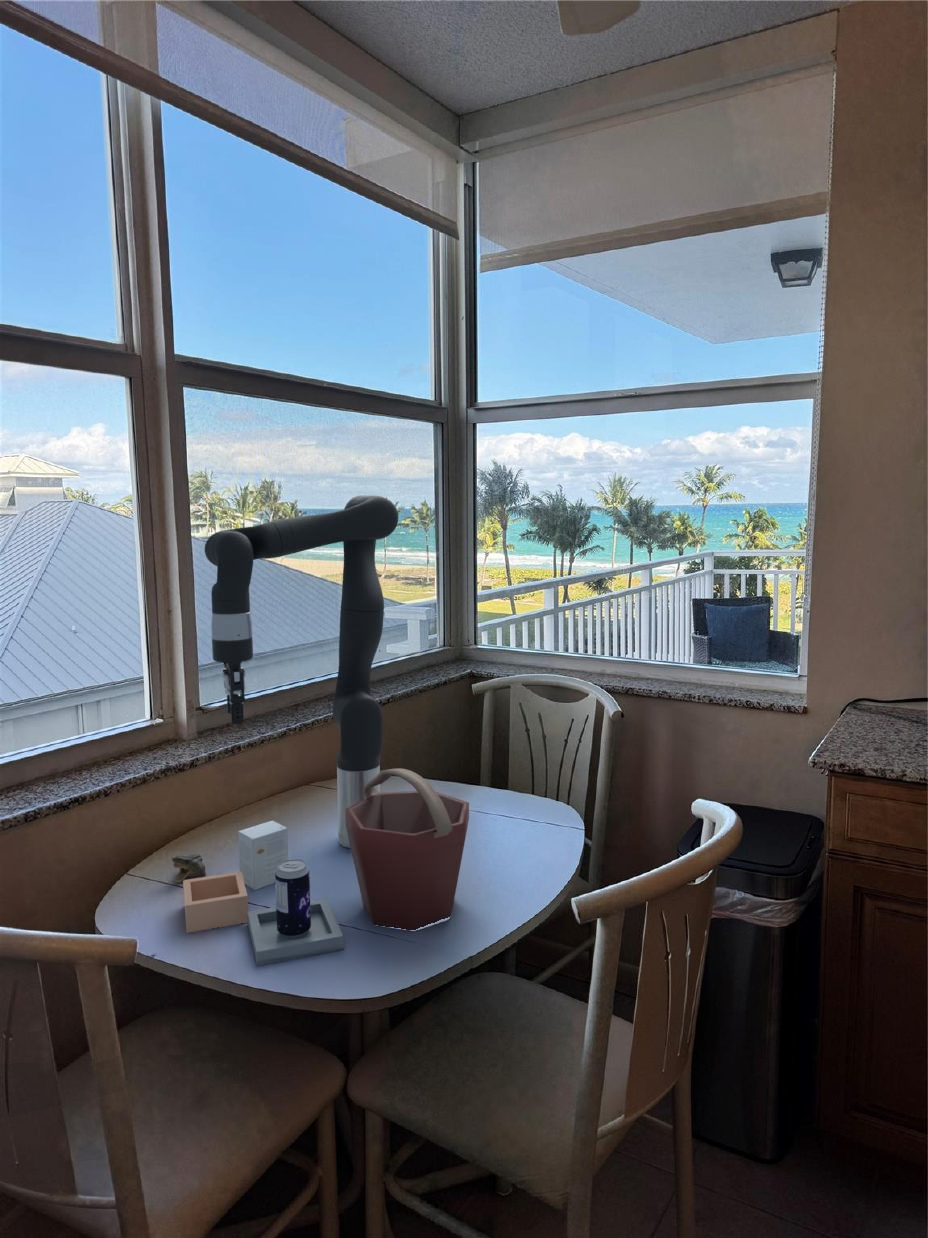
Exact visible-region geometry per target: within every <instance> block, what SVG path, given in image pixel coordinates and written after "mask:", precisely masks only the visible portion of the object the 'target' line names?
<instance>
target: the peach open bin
mask: <svg viewBox="0 0 928 1238" xmlns="http://www.w3.org/2000/svg"><path fill="white" fill-rule="evenodd" d="M182 884H183V887H182V889H183V902H184V903H183V905H184V908H183V909H184V917H185V918H184V920H185V931H186V932H185V933H186V934H190V933H196V932H201V931H207V930H212V928H214V929H218V928H217V927H219V928H224V927H229V926H235V925H242V924H241V923H243V924H248V916H247V912H249V902H248V900H249V899H248V898H249V897H248V896H249V895H248V892H247V888H246V885H245V884H244V879H243V875H242V871H241V872H240V871H235V872H231V873H230V872H227V873H224V874H217V875H209V876H201V877H196V878H190V879H185V880H183V881H182Z"/></svg>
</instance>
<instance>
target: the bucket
mask: <svg viewBox="0 0 928 1238" xmlns="http://www.w3.org/2000/svg"><path fill="white" fill-rule="evenodd" d="M392 776H395V777H398V778H401V779H402V780H405V781H406V782H407V783H408V784H410V785H412V786H413V788H414V789H415V790H406V791H405V790H402V791H384V792H382V791H381V792H380V793H378V792H377V791H376V789H375V787H374V786H376V785H379V784H380V785H382V784H384V783H385V782H386V781H388V780H390V778H391V777H392ZM363 793H364V796H365V798H366V799H365V800H363V801H361V802H359V803H357V804H355V805H353V806H351V807H349V808H347V809H345V817H346V829H347V833H348V838H349V842H350V847H351V848H350V850H351V855H352V859H353V860H352V861H353V864H354V869H355V873H356V878H357V882H358V887H359V893H360V897H361V900H362V905H363V908H364V910H365V912H366V911H367V912H366V914H367V915H368V917H369V919H370V920H372V921H371V922H372V924H374V925H378V926H377V927H380V926H385V927H384V928H386V927H394V928H401V929H406V930H416V929H418V928H420V927H424V926H426V925H428V924H431V923H435V922H437V921H439V920H441V919H445V918H448V917H450V916H451V917H452V912H453V907H454V903H455V898H456V890H457V886H458V882H459V875H460V870H461V865H462V859H463V854H464V848H465V843H466V838H467V837H466V836H467V832H468V827H469V826H468V825H469V822H470V821H469V820H470V802H468V801H465V800H462V799H460V798H457V797H452V796H450V795H447V794H443V793H441V792H437V791H436V790H435V789H434V787H433V786H432V785H431V784H430V782H429V781H428V780H426V779H425V778H423V777H422V776H421V775H419V774H418V773H416V772H414V771H412V770H410V769H406V768H402V767H400V768H390V769H383V770H380V773H379V774H378V775H377V776H376V777H375V778H373V779H372V780H371V781H369V782H368V783H367V784H366V785H365V786H364V787H363ZM374 925H373V926H374Z"/></svg>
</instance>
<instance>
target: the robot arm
mask: <svg viewBox="0 0 928 1238" xmlns="http://www.w3.org/2000/svg"><path fill="white" fill-rule="evenodd" d="M398 523H399V512H398V508H397V507H396V504H394V503H393V502H392V501H391V500H390V499H388V498H387V497H384V496H380V495H376V494H375V495H371V494H370V495H366V494H365V495H356V496H354V497H352V498H350V499H349V500H348V502H347V503H345V506H344V508H343V509H342V510H337V511H332V512H326V513H318V514H309V515H300V516H293V517H287V518H282V519H278V520H277V519H276V520H273V521H269V522H265V523H261V524H258V525H254V526H245V527H238V528H230V529H224V530H220V531H216V532H215V533H213V534H211V535H210V536H209V537H208V538H207V540H206V542H205V544H204V555H205V557H206V559H207V560H208V561H209V562H210V563H211V564H212V565H214V566H216V567H217V568H216V569H217V571H216V572H217V573H216V582H215V583H214V584H213V585H212V587H211V623H210V624H211V627H210V628H211V630H210V631H211V647H212V649H211V651H212V660H213V661H214V662H216V663H220V664H221V663H222V664H223V665H224V666H223V667H224V668H222V678H223V687H224V689H225V690H224V691H225V694H226V701H227V702H226V703H227V705H226V706H227V707H226V708H227V709H226V710H227V713H228V714H230V722H231V724H232V725H233V724H234V725H237V724H238V725H239V724H243V723H244V721H245V719H244V703H245V701H246V697H245V692H246V683H245V681H246V680H245V679H246V671H245V669H244V667H242V666H241V664H242V663H243V662H248V661H251V660H253V657H254V649H253V648H254V646H253V645H254V643H253V640H254V639H253V622H252V617H251V615H252V614H251V603H250V599H251V598H250V585H251V580H252V575H253V568H254V561H255V560H258V559H259V560H261V559H262V560H263V559H267V560H268V559H275V558H280V557H284V556H289V555H293V554H296V553H301V552H305V551H308V550H312V549H315V548H320V547H324V546H328V545H333V544H337V543H342V545H343V567H342V568H343V569H342V583H341V585H342V588H341V600H340V601H341V602H340V611H339V612H340V615H339V616H340V617H339V635H338V636H339V638H338V669H337V670H338V671H337V679H336V684H335V685H336V686H335V690H334V696H333V704H332V709H331V710H332V712H331V713H332V716H333V717H332V718H333V720H334V722H335V724H336V725H337V726H338V727H339V728H340V748H339V749H340V750H339V751H338V752H337V755H336V775H337V776H336V777H337V778H336V779H337V783H336V784H337V822H338V823H337V825H338V828H337V829H338V830H337V831H338V832H337V833H338V834H337V836H338V843H339V845H340V846H342V847H344V848H348V849H351V847H350V842H349V838H348V833H347V829H346V817H345V809H347V808H349V807H351V806H353V805H355V804H357V803H359V802H361V801H363V800H365V799H366V798H365V796H364V793H363V787H364V786H365V785H366V784H367V783H368V782H369V781H371V780H372V779H373V778H375V777H376V776H377V775H378V774H379V773H380V772H381V769H380V767H381V764H380V761H381V758H380V757H381V755H382V753H383V738H384V737H383V731H384V730H383V728H384V726H383V724H384V723H383V722H384V721H383V720H384V719H383V711H382V707H381V705H380V703H379V702H378V701H377V700H376V699H375V698H373V697H372V694H371V680H372V679H371V678H372V677H371V675H372V665H373V662H374V658H375V656H376V653H377V650H378V648H379V646H380V641H381V639H382V635H383V629H384V628H383V627H384V616H385V615H384V613H385V598H384V595H383V591H382V586H381V584H380V583H381V582H380V579H379V577H378V574H377V573H378V572H377V569H376V568H377V567H376V560H375V559H376V556H375V555H376V545H377V544H376V543H377V540H382V539H385V538H388V537H389V536H390V535H391V534H393V533H394V532H395V530H396V528H397V526H398ZM374 787H375V789H376V791H377V792H378V793H381V784H379V785H376V786H374Z"/></svg>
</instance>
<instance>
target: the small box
mask: <svg viewBox="0 0 928 1238" xmlns="http://www.w3.org/2000/svg"><path fill="white" fill-rule="evenodd" d="M288 833H289V832H288V828H287V827H286V826H284V825H282V824H280V823H278V822H276V821H275V820H270V821H266V822H263V823H260V824H257V825H253V826H250V827H247V828H245V829H242V830H238V831H237V839H238V840H237V841H238V862H239V863H238V864H239V865H238V866H239V872H241V871H242V875H243V879H244V884H245V886H247V887H248V888H250V889H252V890H254V891H256V890H259V889H263V888H265V887H268V886H270V885H272V884H275V873H276V871H277V869H278V868H277V866H278V864H279V863H281V862H283V861H286V860H290V859H289V841H288V839H289V838H288V835H289V834H288Z"/></svg>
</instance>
